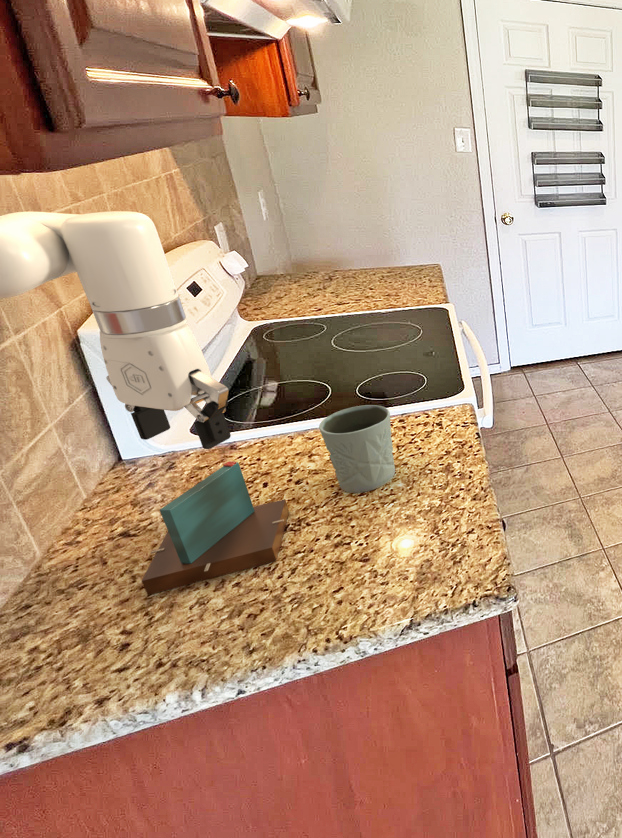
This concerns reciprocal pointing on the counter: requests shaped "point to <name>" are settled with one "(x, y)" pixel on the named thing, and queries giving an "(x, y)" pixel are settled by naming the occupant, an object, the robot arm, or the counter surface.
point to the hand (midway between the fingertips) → (186, 438)
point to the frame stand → (222, 551)
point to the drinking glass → (360, 447)
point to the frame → (207, 512)
